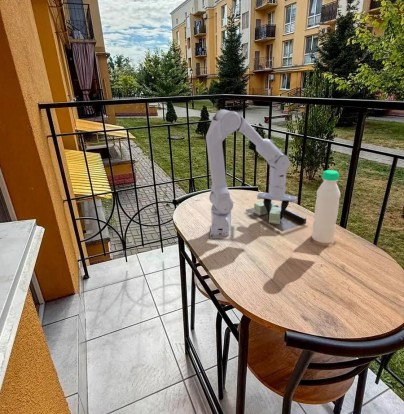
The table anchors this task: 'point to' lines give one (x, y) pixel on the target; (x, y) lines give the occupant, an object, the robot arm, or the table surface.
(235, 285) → the table surface
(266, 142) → the robot arm
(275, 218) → the pale green block
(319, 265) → the table surface
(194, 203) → the table surface
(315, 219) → the water bottle
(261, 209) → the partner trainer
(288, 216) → the dark grey tray
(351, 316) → the table surface
